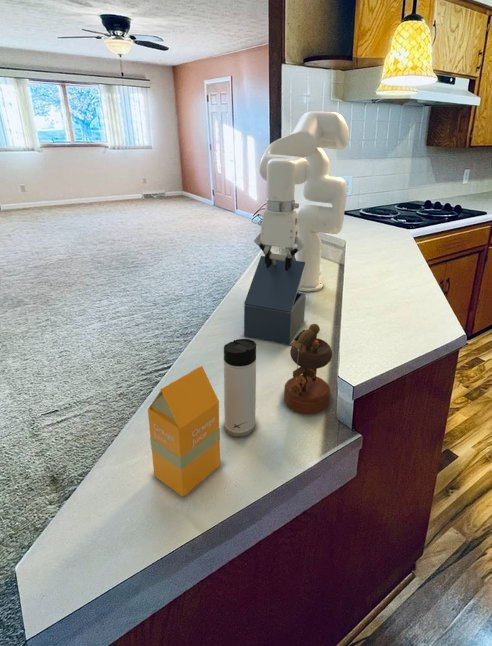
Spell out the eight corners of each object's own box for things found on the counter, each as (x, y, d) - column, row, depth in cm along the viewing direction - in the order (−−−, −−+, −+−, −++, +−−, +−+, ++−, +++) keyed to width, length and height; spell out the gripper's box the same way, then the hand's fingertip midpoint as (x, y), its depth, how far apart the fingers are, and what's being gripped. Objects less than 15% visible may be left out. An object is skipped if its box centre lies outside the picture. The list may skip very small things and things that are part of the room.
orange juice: (153, 475, 72) (143, 380, 65) (191, 446, 79) (187, 357, 72) (183, 498, 69) (177, 399, 61) (221, 465, 75) (219, 373, 68)
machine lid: (261, 257, 125) (257, 246, 120) (305, 263, 122) (303, 252, 117) (244, 304, 117) (239, 295, 112) (291, 313, 114) (288, 303, 109)
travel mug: (240, 443, 81) (241, 355, 73) (218, 427, 85) (216, 343, 77) (262, 426, 86) (264, 343, 78) (240, 412, 89) (240, 331, 82)
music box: (320, 424, 87) (320, 341, 80) (273, 414, 91) (269, 333, 84) (340, 385, 101) (341, 311, 94) (298, 377, 104) (296, 305, 97)
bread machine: (263, 314, 135) (263, 286, 131) (303, 321, 132) (305, 293, 128) (244, 336, 121) (244, 305, 117) (289, 345, 118) (290, 313, 114)
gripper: (313, 206, 114) (309, 267, 121) (256, 200, 118) (255, 259, 125) (306, 212, 107) (302, 276, 114) (245, 205, 111) (246, 267, 118)
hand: (278, 267), depth 119 cm, fingers closed on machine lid, 5 cm apart
